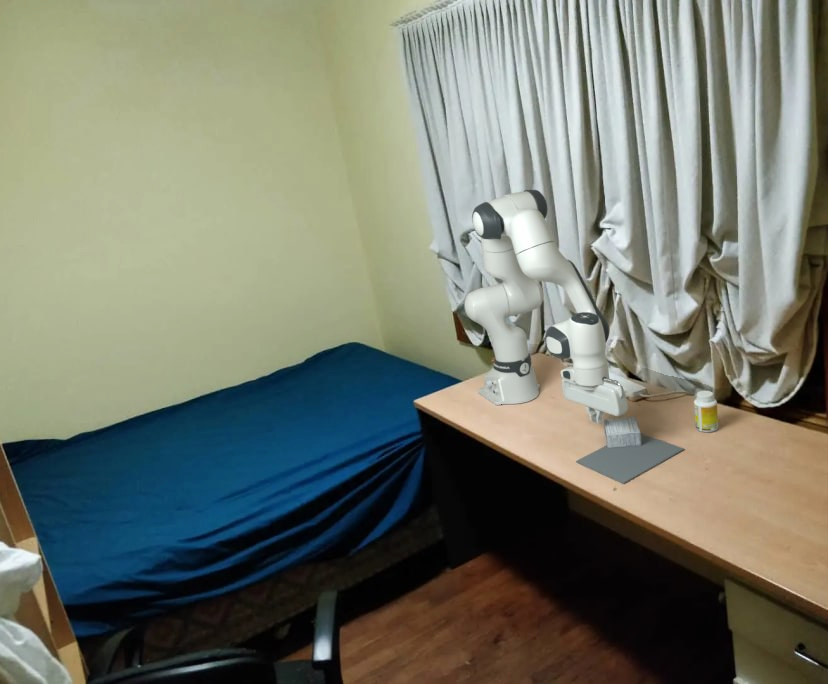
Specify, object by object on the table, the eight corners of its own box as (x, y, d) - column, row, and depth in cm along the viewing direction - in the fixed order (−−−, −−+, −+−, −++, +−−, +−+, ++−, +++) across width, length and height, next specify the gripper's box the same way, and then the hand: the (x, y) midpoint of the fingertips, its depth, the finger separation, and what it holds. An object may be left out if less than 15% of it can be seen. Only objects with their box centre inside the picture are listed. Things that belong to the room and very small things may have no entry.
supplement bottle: (723, 427, 168) (721, 392, 165) (709, 435, 166) (707, 399, 163) (704, 422, 173) (702, 387, 170) (690, 429, 171) (688, 394, 168)
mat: (576, 462, 165) (575, 461, 165) (634, 432, 175) (634, 430, 175) (623, 484, 152) (623, 482, 152) (684, 450, 161) (684, 448, 161)
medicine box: (607, 448, 168) (641, 446, 167) (606, 434, 167) (641, 431, 165) (604, 432, 176) (637, 430, 174) (603, 418, 174) (636, 416, 172)
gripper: (630, 378, 159) (635, 428, 163) (573, 362, 176) (578, 408, 180) (612, 386, 156) (618, 436, 160) (556, 370, 174) (561, 415, 177)
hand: (596, 421), depth 170 cm, fingers closed
